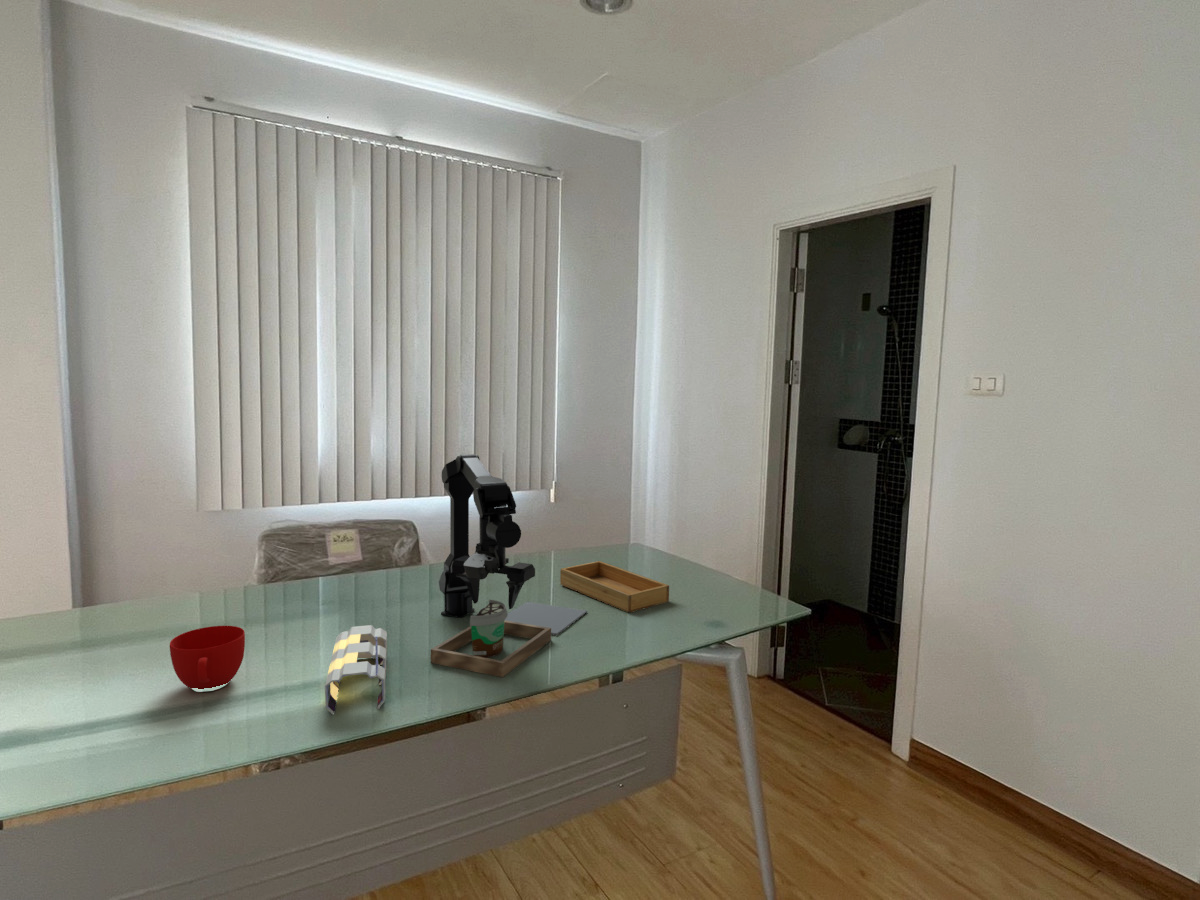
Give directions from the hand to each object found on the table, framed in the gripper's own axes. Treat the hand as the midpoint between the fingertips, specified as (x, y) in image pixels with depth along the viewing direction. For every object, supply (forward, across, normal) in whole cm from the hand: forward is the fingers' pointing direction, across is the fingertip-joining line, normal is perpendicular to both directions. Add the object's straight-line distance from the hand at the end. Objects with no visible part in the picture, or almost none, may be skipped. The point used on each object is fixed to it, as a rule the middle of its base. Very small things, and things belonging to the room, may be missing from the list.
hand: (493, 605), depth 153 cm
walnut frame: (+10, 0, 0) cm, 11 cm away
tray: (+11, +9, +50) cm, 52 cm away
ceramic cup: (+11, -41, -39) cm, 58 cm away
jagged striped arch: (+11, -16, -25) cm, 32 cm away
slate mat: (+11, 0, +23) cm, 25 cm away
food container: (+11, 0, 0) cm, 11 cm away
